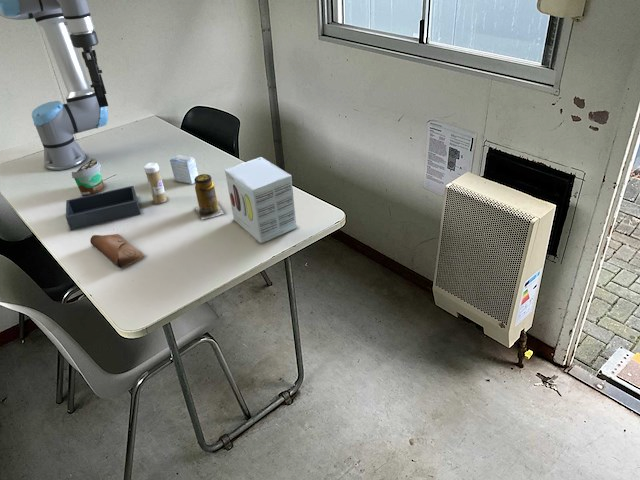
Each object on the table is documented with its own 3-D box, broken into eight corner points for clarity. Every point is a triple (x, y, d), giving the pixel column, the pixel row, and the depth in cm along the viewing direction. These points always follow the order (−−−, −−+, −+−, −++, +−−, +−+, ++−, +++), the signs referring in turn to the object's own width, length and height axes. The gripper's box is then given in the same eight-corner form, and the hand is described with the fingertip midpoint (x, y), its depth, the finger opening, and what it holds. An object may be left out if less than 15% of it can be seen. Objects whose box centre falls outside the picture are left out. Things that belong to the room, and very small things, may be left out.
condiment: (216, 202, 171) (210, 170, 164) (224, 214, 164) (217, 181, 157) (195, 208, 168) (188, 176, 161) (202, 220, 162) (194, 187, 155)
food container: (95, 199, 178) (86, 173, 172) (80, 198, 179) (70, 172, 173) (114, 182, 188) (106, 157, 182) (99, 181, 189) (90, 157, 183)
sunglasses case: (146, 255, 147) (130, 244, 141) (130, 274, 145) (113, 264, 140) (117, 233, 157) (100, 222, 152) (102, 251, 156) (85, 240, 151)
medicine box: (199, 179, 186) (194, 157, 181) (192, 184, 182) (187, 162, 178) (182, 175, 189) (177, 154, 184) (174, 181, 185) (169, 159, 180)
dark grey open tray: (71, 212, 171) (66, 200, 168) (137, 197, 177) (133, 185, 174) (70, 230, 161) (65, 217, 159) (140, 214, 167) (136, 201, 165)
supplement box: (232, 220, 160) (222, 169, 150) (268, 206, 167) (261, 155, 156) (260, 244, 149) (252, 190, 138) (298, 228, 155) (292, 174, 145)
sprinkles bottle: (163, 204, 172) (154, 168, 164) (151, 203, 173) (141, 168, 165) (169, 197, 175) (160, 162, 168) (157, 197, 176) (147, 161, 169)
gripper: (69, 26, 163) (90, 91, 175) (68, 42, 144) (92, 114, 156) (94, 23, 165) (112, 87, 177) (96, 38, 146) (117, 109, 158)
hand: (103, 100), depth 167 cm, fingers open, 13 cm apart
